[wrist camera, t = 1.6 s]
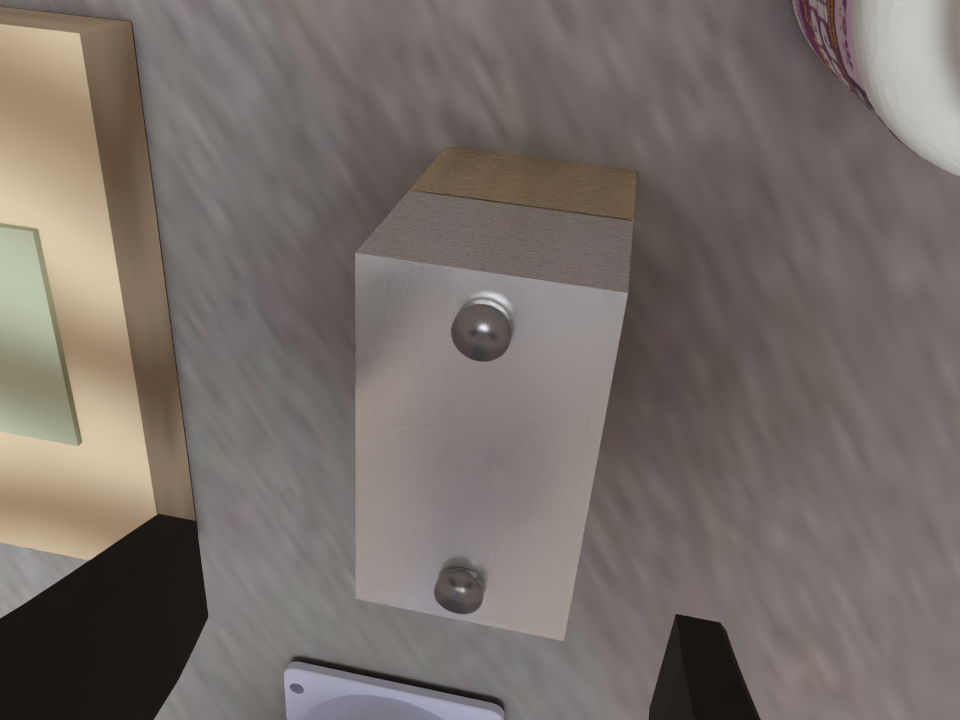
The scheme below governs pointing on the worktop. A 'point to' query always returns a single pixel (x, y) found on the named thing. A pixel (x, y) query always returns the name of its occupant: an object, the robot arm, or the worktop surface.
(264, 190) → the worktop surface
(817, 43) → the pill bottle
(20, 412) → the birch stand
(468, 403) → the block
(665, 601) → the worktop surface
